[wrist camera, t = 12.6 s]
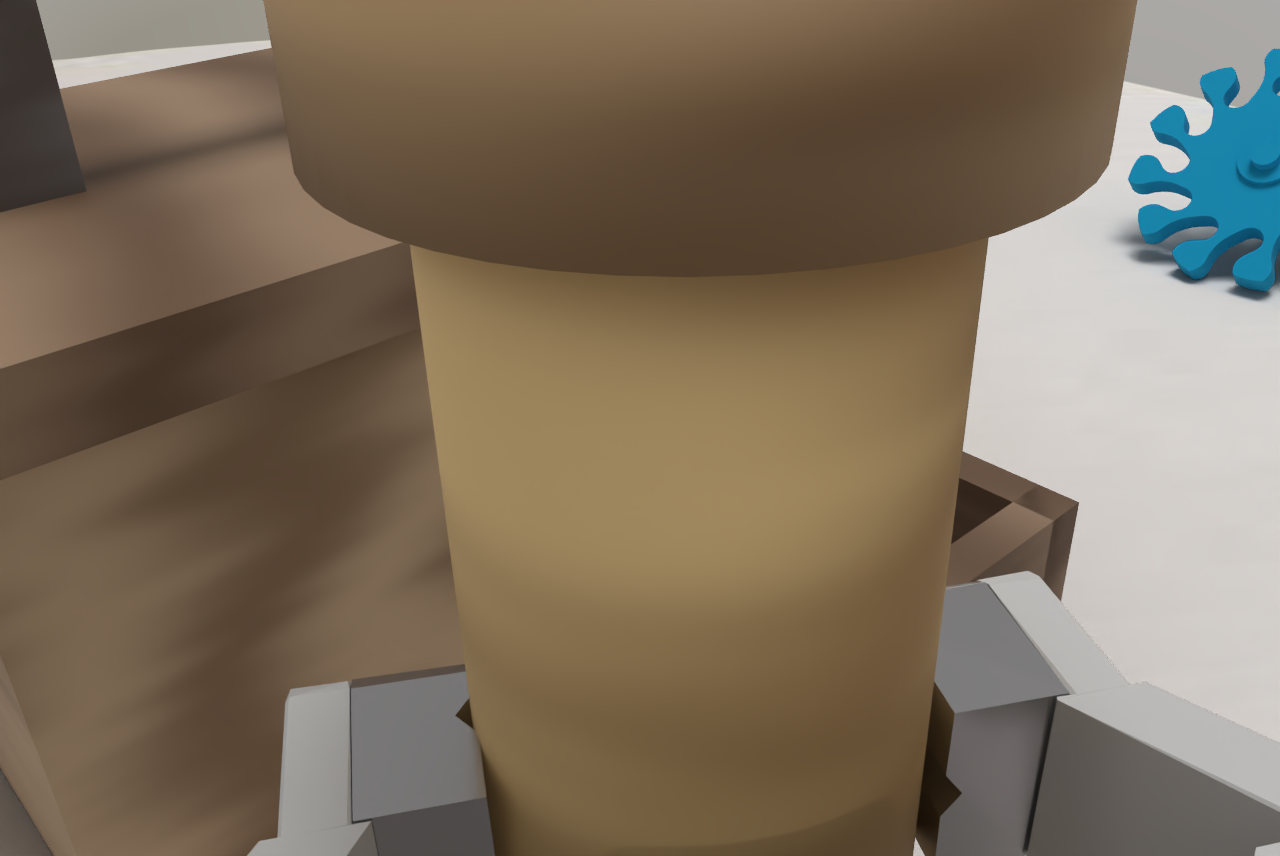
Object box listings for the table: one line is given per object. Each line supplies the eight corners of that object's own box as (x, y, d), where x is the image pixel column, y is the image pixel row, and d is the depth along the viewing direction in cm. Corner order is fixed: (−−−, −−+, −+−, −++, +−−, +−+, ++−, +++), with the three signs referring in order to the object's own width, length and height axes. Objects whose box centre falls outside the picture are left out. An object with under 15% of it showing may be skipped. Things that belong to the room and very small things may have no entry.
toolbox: (278, 1286, 17) (-115, 151, 9) (-121, 603, 31) (-419, -88, 23) (1117, 591, 30) (1271, -135, 22) (570, 328, 44) (539, -177, 36)
